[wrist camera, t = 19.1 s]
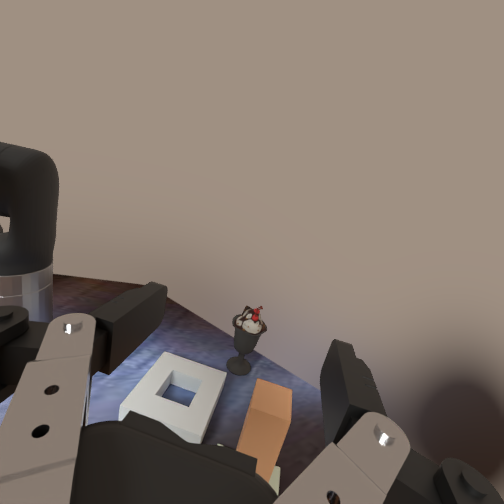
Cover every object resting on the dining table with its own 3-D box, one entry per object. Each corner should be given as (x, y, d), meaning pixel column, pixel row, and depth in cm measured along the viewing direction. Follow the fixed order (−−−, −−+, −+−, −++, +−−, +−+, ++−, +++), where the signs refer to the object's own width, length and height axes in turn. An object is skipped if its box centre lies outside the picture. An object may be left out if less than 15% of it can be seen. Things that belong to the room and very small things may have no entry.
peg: (220, 507, 29) (250, 407, 25) (230, 470, 33) (257, 378, 29) (254, 520, 29) (290, 421, 24) (259, 481, 32) (292, 389, 28)
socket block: (118, 421, 36) (120, 405, 35) (162, 364, 47) (164, 351, 47) (197, 452, 35) (201, 436, 34) (223, 386, 46) (227, 372, 45)
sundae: (246, 385, 47) (266, 315, 43) (216, 367, 50) (232, 300, 45) (259, 364, 53) (278, 301, 49) (232, 350, 56) (247, 288, 51)
